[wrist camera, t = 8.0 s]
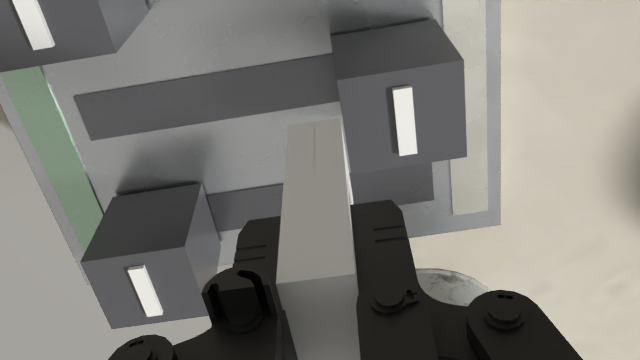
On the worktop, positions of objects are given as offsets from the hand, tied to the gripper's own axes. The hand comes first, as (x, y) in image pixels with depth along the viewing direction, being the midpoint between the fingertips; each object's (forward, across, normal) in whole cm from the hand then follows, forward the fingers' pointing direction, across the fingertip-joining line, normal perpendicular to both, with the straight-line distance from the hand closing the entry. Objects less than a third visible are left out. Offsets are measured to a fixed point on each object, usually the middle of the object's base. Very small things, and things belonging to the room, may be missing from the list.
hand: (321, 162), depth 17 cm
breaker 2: (+7, -8, -6) cm, 12 cm away
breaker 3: (+7, +3, 0) cm, 8 cm away
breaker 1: (+7, -8, +5) cm, 12 cm away
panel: (+9, -3, 0) cm, 10 cm away
